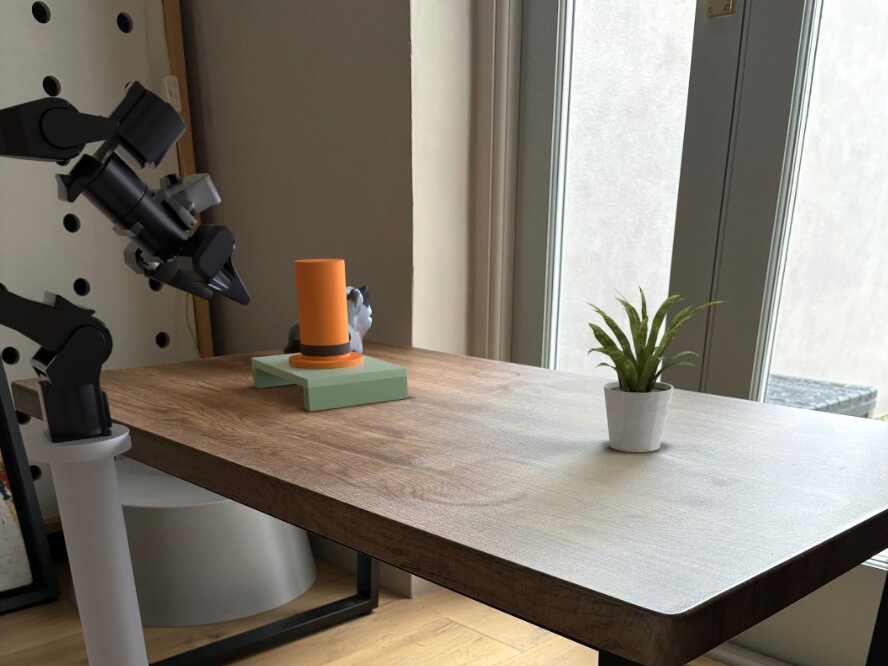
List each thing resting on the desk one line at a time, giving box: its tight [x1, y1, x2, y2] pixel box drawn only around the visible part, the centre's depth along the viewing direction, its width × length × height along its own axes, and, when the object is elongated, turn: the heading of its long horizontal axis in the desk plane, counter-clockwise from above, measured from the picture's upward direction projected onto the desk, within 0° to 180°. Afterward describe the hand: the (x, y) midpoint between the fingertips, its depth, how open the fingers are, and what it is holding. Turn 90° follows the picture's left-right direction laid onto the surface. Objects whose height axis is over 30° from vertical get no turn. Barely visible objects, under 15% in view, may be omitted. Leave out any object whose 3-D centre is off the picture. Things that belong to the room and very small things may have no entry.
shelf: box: [250, 351, 409, 412], centre depth 126 cm, size 14×20×4 cm
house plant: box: [583, 285, 729, 453], centre depth 95 cm, size 14×14×16 cm
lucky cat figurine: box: [282, 284, 373, 355], centre depth 149 cm, size 15×12×14 cm
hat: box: [289, 258, 364, 369], centre depth 123 cm, size 10×10×13 cm
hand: (229, 299), depth 113 cm, fingers open, 9 cm apart
